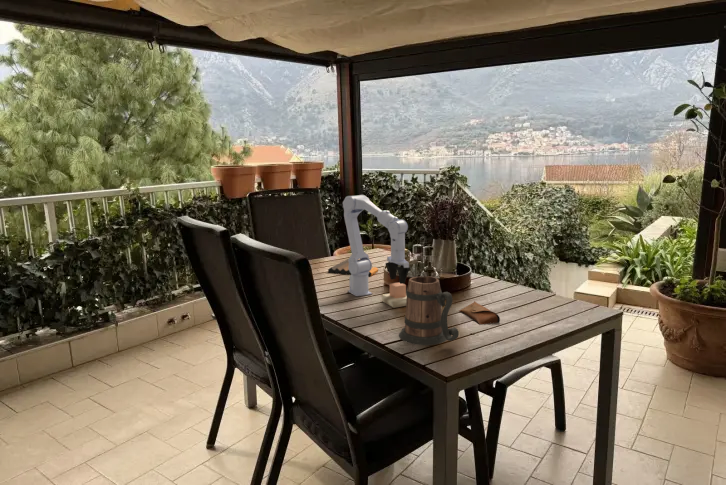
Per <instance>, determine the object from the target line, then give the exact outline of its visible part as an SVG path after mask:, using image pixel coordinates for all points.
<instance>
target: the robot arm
mask: <svg viewBox="0 0 726 485" xmlns="http://www.w3.org/2000/svg"><path fill="white" fill-rule="evenodd" d="M342 207H343V217H344V218H343V219H344V223H345V226H346V232H347V237H348V243H349V248H350V251H351V254H350V256H349V257H348V261H349V271H350V273H351V275H349V278H348V279H349V280H348V281H349V283H348V284H349V289H348V290H347V293H350V294H352V295H353V296H355V297H360V296H368V295H372V294H373V293H372V292H371V291H369V276H368V274H369V271H370V270H371V268H372V267H373V263H372V261H371V259H370V257H369V254H368V253H366V252H365V251H364V246H363V240H362V237H361V236H362V235H361V232H360V227H359V221H358V216H359V215H360V213H362V212H364V210H365V211H367V212H368V213H370V214H371V215H373V216H374V217H376V219H377V220H376V221H377V222H378V223H380V225H382V226H384V227H385V228H386V229H387V231H388V232H389V238H390V256H387V258H386V260H387V262H385V267H386V268H387V270H388V273H389V278H390V280H396V278H397V275H398V281H399V282H400V284H405V283H406V280H407V276H408V274H409V271H410V270H411V266H410V263H409V261H407V260H406V259H405V258H406V256H405V255H406V254H405V253H406V240H405V239H406V233H407V231H408V229H409V225H408V223H407V221H406V220H405V219H399V217H397V216H394V215H393V214H392V213H391V212H390V210H382V209H381V208H379V207H378V206H377V205H376V204H374V203H373V202H372V201H371V200H370V198H369V196H368V197H367V196H366V195H364V194H359V195H347V196H345V198H344V199H343V201H342ZM399 282H398V283H399Z"/></svg>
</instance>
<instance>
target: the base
mask: <svg viewBox="0 0 726 485" xmlns="http://www.w3.org/2000/svg"><path fill="white" fill-rule="evenodd" d="M381 300H382V303H384V304H386V305H389V307H392V308H394V309H395V308H400V307H406V300H407V296H406V297H400V298H394V297H392V296H390V292H389V293H384V294H382V295H381Z"/></svg>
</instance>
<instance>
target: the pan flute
mask: <svg viewBox="0 0 726 485" xmlns="http://www.w3.org/2000/svg"><path fill="white" fill-rule="evenodd" d="M348 259H349V258H348ZM348 259H346V260H344V261H341V262H340V263H337V264H336V265H333V266H331V267H329V268H328V269H327V272H328V273H329V274H338V273H339V274H342V275H349V274H351V273H350V271H349V261H348ZM376 272H377V273H378V272H379V268H378V267H376V266H372V268H371V270H370V271H369V274H368V277H372V276H374V275H375V274H377V273H376ZM346 273H347V274H346ZM373 274H374V275H373Z"/></svg>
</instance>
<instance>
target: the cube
mask: <svg viewBox="0 0 726 485" xmlns="http://www.w3.org/2000/svg"><path fill="white" fill-rule="evenodd" d="M406 290H407V285H406V284H405V283H402V284H400V282H393V283H389V293H390V296H392V297H394V298H400V297H406Z"/></svg>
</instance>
